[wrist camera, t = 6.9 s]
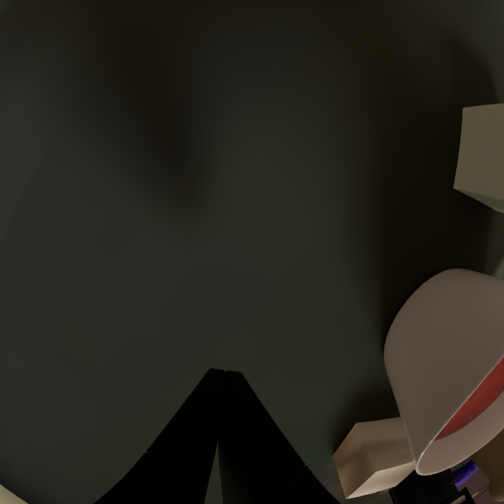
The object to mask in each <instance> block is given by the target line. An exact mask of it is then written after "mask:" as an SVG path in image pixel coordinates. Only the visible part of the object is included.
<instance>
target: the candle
mask: <svg viewBox="0 0 504 504" xmlns="http://www.w3.org/2000/svg"><path fill="white" fill-rule="evenodd" d="M384 364H385V369H386V372H387V375H388V378H389V381H390V385H391V388H392V391H393V394H394V397H395V400H396V403H397V406H398V410H399V413H400V416H401V419H402V423H403V426H404V430H405V433H406V437H407V440H408V444H409V448H410V452H411V455H412V459H413V463H414V467H415V470H416V472H417V473H418V474H419V475H431V474H435V473H438V472H441V471H444V470H446V469H448V468H450V467H452V466H454V465H456V464H458V463H460V462H461V461H463V460H465V459H466V458H468V457H469V456H471V455H472V454H474V453H475V452H477V451H478V450H479V449H481V448H482V447H483V446H484V445H486V444H487V443H488V442H489V441H491V440H492V439H493V438H494V437H495V436H496V435H497V434H498V433H499V432H500V431H502V430H503V429H504V279H500V278H497V277H493V276H490V275H487V274H483V273H479V272H476V271H472V270H467V269H461V268H455V269H449V270H446V271H443V272H441V273H439V274H437V275H435V276H433V277H432V278H430V279H429V280H427V281H426V282H425V283H424V284H422V285H421V286H420V287H419V288H418V289H417V290H416V291H415V292H414V293H413V294H412V295H411V296H410V297H409V299H408V300H407V301H406V302H405V304H404V305H403V306H402V308H401V309H400V311H399V312H398V314H397V316H396V317H395V319H394V321H393V323H392V325H391V327H390V329H389V332H388V335H387V338H386V341H385V346H384Z"/></svg>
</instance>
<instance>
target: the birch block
mask: <svg viewBox="0 0 504 504" xmlns="http://www.w3.org/2000/svg"><path fill="white" fill-rule="evenodd" d="M333 458H334V462H335V465H336V468H337V472H338V475H339V478H340V482H341V485H342V488H343V492H344V495H345V498H346V499H348V498H353V497H358V496H362V495H366V494H370V493H374V492H378V491H381V490H385V489H388V488H392V487H395V486H396V485H398V484H399V483H400V482H401V481H402V480H403V479H404V478H406V477H407V476H408V475H409V474H410V473H411V472H412V471H413V470H414V469H415V467H414V463H413V459H412V455H411V452H410V448H409V444H408V440H407V437H406V433H405V430H404V426H403V423H402V419H401V417H396V418H390V419H384V420H377V421H369V422H361V423H356V424H355V425H354V427H353V428H352V430H351V431H350V433H349V434H348V435H347V437H346V438H345V440H344V441H343V442H342V444H341V445H340V447H339V448H338V449H337V451H336V452H335V453H334V455H333Z"/></svg>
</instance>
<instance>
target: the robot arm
mask: <svg viewBox="0 0 504 504" xmlns="http://www.w3.org/2000/svg"><path fill="white" fill-rule="evenodd" d="M217 442H218V456H219V467H220V477H221V487H222V496H223V504H341V503H340V502H339V501H338V500H337V499H336V498H335V497H334V496H333V495H332V494H331V493H330V492H329V491H328V490H327V489H326V488H325V487H324V486H323V485H322V483H321V482H320V481H319V480H318V479H317V478H316V476H315V475H314V474H313V473H312V471H311V470H310V469H309V467H308V466H305V463H304V461H303V460H302V459H301V457H300V456H299V455H298V453H297V452H296V451H295V449H294V448H293V447H292V445H291V444H290V443H289V441H288V440H287V439H286V437H285V436H284V434H283V433H282V432H281V430H280V429H279V427H278V426H277V425H276V423H275V422H274V420H273V419H272V418H271V416H270V415H269V413H268V412H267V410H266V409H265V407H264V406H263V404H262V403H261V401H260V400H259V399H258V397H257V396H256V394H255V393H254V391H253V390H252V388H251V386H250V385H249V383H248V382H247V380H246V379H245V377H244V376H243V374H242V373H241V372H237V371H229V370H228V371H226V372H225V371H224V370H221V369H214V368H210V369H209V370H208V371H207V372H206V374H205V375H204V377H203V378H202V379H201V381H200V382H199V383H198V385H197V386H196V387H195V389H194V390H193V391H192V393H191V394H190V395H189V397H188V398H187V399H186V401H185V402H184V403H183V404H182V406H181V407H180V408H179V410H178V411H177V412H176V414H175V415H174V416H173V417H172V419H171V420H170V421H169V423H168V424H167V425H166V427H165V428H164V429H163V430H162V432H161V433H160V434H159V435H158V437H157V438H156V439H155V441H154V442H153V443H152V444H151V446H150V447H149V448H148V449H147V451H146V452H147V453H144V454H143V455H142V457H141V458H140V459H139V460H138V461H137V463H136V464H135V465H134V466H133V467H132V468H131V469H130V471H129V472H128V473H127V474H126V475H125V476H124V477H123V478H122V479H121V480H120V481H119V482H118V483H117V484H116V485H115V486H114V487H113V488H111V489H110V490H109V491H108V492H107V493H106V494H105V495H103V496H102V497H101V498H100V499H98V500H97V501H96V502H95V503H93V504H204V502H205V497H206V493H207V488H208V484H209V479H210V475H211V470H212V465H213V461H214V456H215V452H216V447H217ZM455 481H456V480H455V478H454V476H453V474H452V472H451V470H450V468H448V469H446V470H444V471H441V472H438V473H435V474H431V475H419V474H418V473H417V472H416V470H415V469H414V470H413V471H412V472H411V473H410V474H409V475H408V476H407V477H406V478H404V479H403V480H402V481H401V482H400V483H399V484H398V485H396V486H395V487H392V488H388V489H385V490H381V491H378V492H377V494H381V493H384V492H388V491H389V493H390V496H391V498H392V501H393V503H394V504H455V503H456V502H458V501H459V500H461V499H462V498H464V497H465V498H466V500H465V501H463V502H462V503H460V504H475V502H474V501H473V499H472V497H471V495H470V493H469V491H468V489H467V488H466V487H465V488H463V489H462V491H460V492H459V491H458V489H457V487H456V485H455V483H454V482H455Z"/></svg>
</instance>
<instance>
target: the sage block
mask: <svg viewBox="0 0 504 504" xmlns="http://www.w3.org/2000/svg"><path fill="white" fill-rule="evenodd" d="M453 188H454V189H456V190H458V191H460V192H462V193H464V194H466V195H468V196H470V197H472V198H474V199H476V200H478V201H480V202H482V203H483V204H485V205H487V206H489V207H491V208H493V209H494V210H496V211H499V212H502V213H504V103H503V104H492V105H482V106H474V107H466V108H463V117H462V130H461V140H460V149H459V157H458V164H457V170H456V176H455V182H454V187H453Z"/></svg>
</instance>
